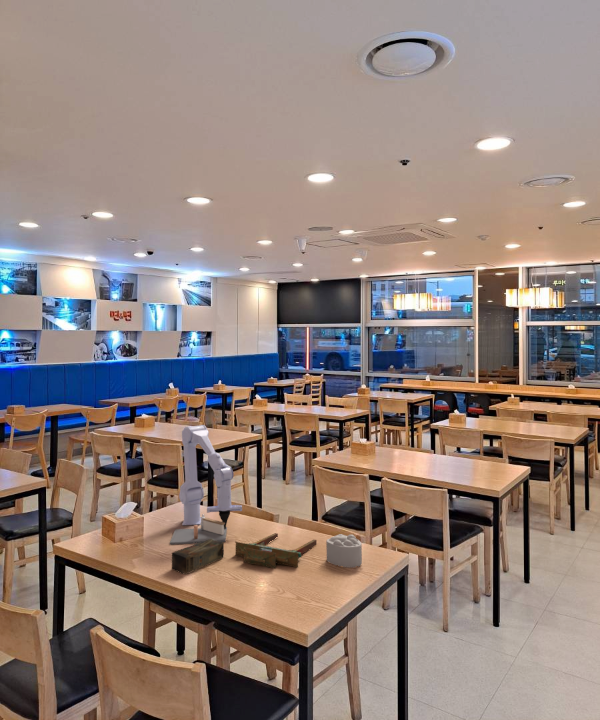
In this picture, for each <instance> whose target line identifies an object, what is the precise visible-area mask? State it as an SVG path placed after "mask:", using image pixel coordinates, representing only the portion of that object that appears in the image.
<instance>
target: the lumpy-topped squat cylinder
mask: <svg viewBox="0 0 600 720" xmlns="http://www.w3.org/2000/svg"><path fill="white" fill-rule="evenodd" d="M325 545H326V561H327V562H328V563H329V562H330V563H329V564H332V565H334V566H337V565H338V567H340V566H343V568H357V567H356V566H358V567H361V566H362V565H361V564H363V557H362V556H363V552H362V550H363V549H362V547H363V545H362V541H360V540H359V539H358V538H357V537H356V536H355V535H354V534H348V535H345V534H341V533H340V534H337V535H334V536H331V537H330V538H327V539H326V543H325ZM360 565H361V566H360Z"/></svg>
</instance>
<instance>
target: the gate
mask: <svg viewBox="0 0 600 720" xmlns="http://www.w3.org/2000/svg"><path fill="white" fill-rule="evenodd" d="M200 517H201V524H200V528H201V529H202V530H206V531H210V532H213V533H217V534H220V535H223V534H224V524H225V523H224V522H222V521H220V520H216V519H212V518H209V517H205V516H204V517H202V516H200Z"/></svg>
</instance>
